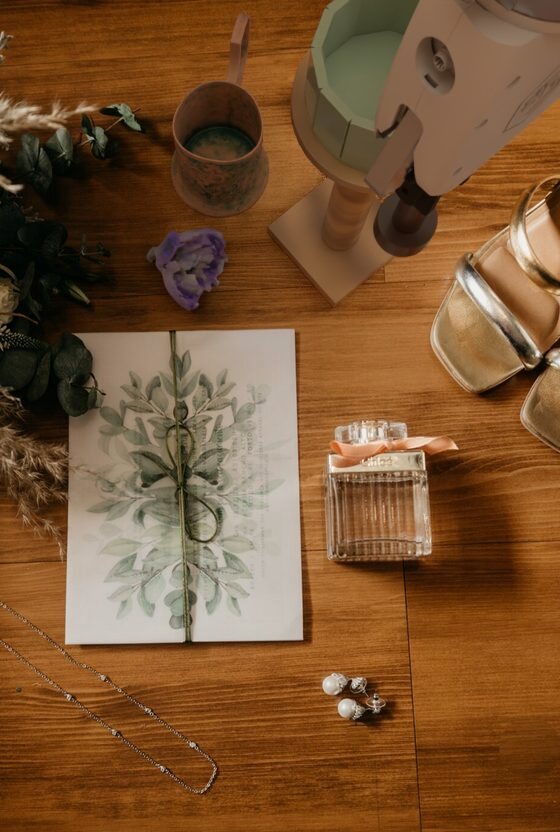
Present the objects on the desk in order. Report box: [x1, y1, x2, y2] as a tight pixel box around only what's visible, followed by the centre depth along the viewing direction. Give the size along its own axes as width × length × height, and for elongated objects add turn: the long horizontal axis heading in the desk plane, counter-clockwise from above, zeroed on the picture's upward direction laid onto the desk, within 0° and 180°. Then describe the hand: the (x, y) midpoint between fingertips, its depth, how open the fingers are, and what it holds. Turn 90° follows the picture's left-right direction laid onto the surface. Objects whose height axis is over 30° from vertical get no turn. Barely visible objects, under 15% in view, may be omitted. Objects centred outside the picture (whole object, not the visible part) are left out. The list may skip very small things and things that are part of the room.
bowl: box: [304, 0, 420, 173], centre depth 56 cm, size 13×13×6 cm
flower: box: [146, 227, 229, 312], centre depth 80 cm, size 9×9×10 cm
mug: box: [170, 12, 270, 218], centre depth 79 cm, size 12×18×12 cm, turn 166°
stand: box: [266, 48, 397, 308], centre depth 71 cm, size 15×15×26 cm
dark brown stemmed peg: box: [373, 192, 439, 258], centre depth 43 cm, size 4×4×12 cm
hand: (428, 179), depth 42 cm, fingers closed on dark brown stemmed peg, 2 cm apart
